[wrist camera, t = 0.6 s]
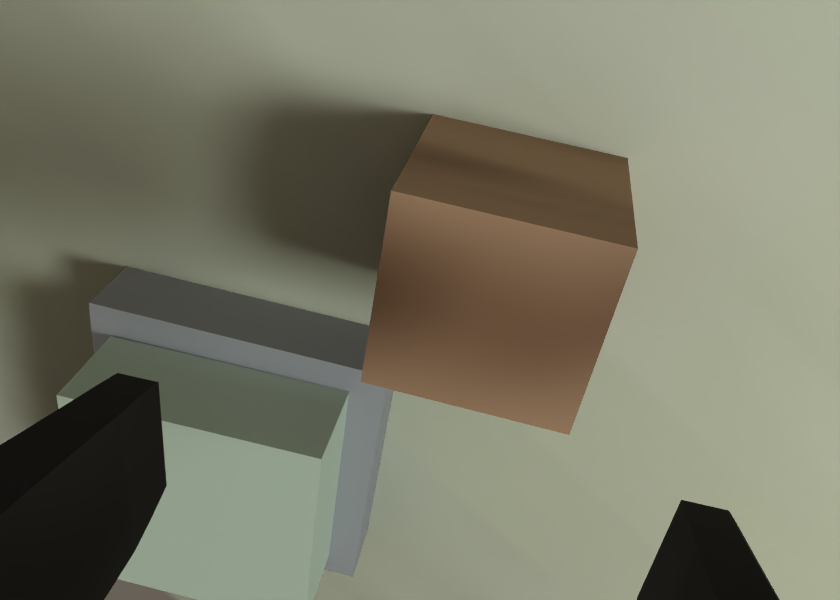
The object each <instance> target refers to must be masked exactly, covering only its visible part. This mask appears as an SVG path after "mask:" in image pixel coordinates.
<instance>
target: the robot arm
mask: <svg viewBox="0 0 840 600" xmlns="http://www.w3.org/2000/svg"><path fill="white" fill-rule="evenodd" d="M166 486H167V483H166V470H165V457H164V445H163V432H162V419H161V406H160V394H159V382H156V381H152V380H147V379H143V378H138V377H134V376H129V375H125V374H120V373H116V374H115V375H113V376H111V377H110V378H108V379H106V380H105V381H103V382H101V383H100V384H98V385H96V386H95V387H93V388H91V389H90V390H88V391H87V392H85V393H83V394H82V395H80V396H79V397H77V398H76V399H74V400H72V401H71V402H69V403H68V404H66V405H64V406H63V407H61V408H60V409H58V410H56V411H55V412H53V413H52V414H50V415H48V416H47V417H45V418H44V419H42V420H40V421H39V422H37V423H36V424H34V425H32V426H31V427H29V428H27V429H26V430H24V431H23V432H21V433H19V434H18V435H16V436H14V437H13V438H11V439H9V440H8V441H6V442H5V443H3V444H1V445H0V600H104V599H105V597H106V596H107V594H108V593H109V591H110V590H111V588H112V586H113V585H114V583H115V582H116V580H117V579H118V577H119V576H120V574H121V572H122V571H123V569H124V568H125V566H126V565H127V563H128V561H129V560H130V558H131V557H132V555H133V553H134V552H135V550H136V548H137V546H138V544H139V542H140V540H141V538H142V536H143V534H144V532H145V530H146V528H147V526H148V524H149V522H150V520H151V518H152V516H153V514H154V512H155V510H156V507H157V505H158V503H159V501H160V499H161V497H162V495H163V493H164V491H165V488H166ZM637 600H779V598H778V596H777V595H776V593H775V591H774V589H773V588H772V586H771V584H770V582H769V581H768V579H767V577H766V575H765V573H764V572H763V570H762V568H761V566H760V565H759V563H758V561H757V559H756V557H755V556H754V554H753V552H752V550H751V548H750V547H749V545H748V543H747V541H746V539H745V538H744V536H743V534H742V532H741V530H740V529H739V527H738V525H737V523H736V522H735V520H734V518H733V517H732V515H731V513H730V512H729V511H728V510H724V509H719V508H715V507H710V506H706V505H702V504H697V503H693V502H688V501H684V500H681V502H680V504H679V506H678V508H677V511H676V513H675V515H674V517H673V520H672V522H671V524H670V526H669V528H668V531H667V533H666V535H665V537H664V539H663V542H662V544H661V546H660V548H659V551H658V553H657V555H656V557H655V559H654V562H653V564H652V566H651V568H650V570H649V573H648V575H647V577H646V579H645V582H644V584H643V586H642V588H641V590H640V593H639V595H638V597H637Z"/></svg>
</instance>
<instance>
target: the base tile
mask: <svg viewBox="0 0 840 600" xmlns="http://www.w3.org/2000/svg"><path fill="white" fill-rule="evenodd" d="M89 312H90V323H91V334H92V345H93V355H94V354H95V353H96V351H97V350H98V349H99V348H100V347H101V346H102V345H103V344H104V343H105V342H106V341H107V340H108V338H109V337H110V336H113V337H118V338H122V339H126V340H130V341H135V342H139V343H143V344H147V345H152V346H156V347H160V348H164V349H169V350H173V351H177V352H181V353H186V354H190V355H194V356H198V357H203V358H207V359H211V360H215V361H220V362H224V363H228V364H232V365H237V366H241V367H245V368H249V369H254V370H258V371H262V372H266V373H271V374H275V375H279V376H283V377H288V378H292V379H296V380H300V381H305V382H309V383H313V384H317V385H322V386H326V387H330V388H334V389H339V390H343V391H347V392H349V398H348V406H347V414H346V422H345V430H344V438H343V446H342V454H341V462H340V470H339V478H338V487H337V495H336V503H335V511H334V519H333V527H332V535H331V543H330V551H329V556H328V559H327V562H326V565H325V568H324V569H326V570H330V571H334V572H338V573H341V574H345V575H349V576H353V574H354V571H355V568H356V565H357V561H358V558H359V555H360V552H361V549H362V545H363V542H364V539H365V536H366V533H367V530H368V524H369V519H370V514H371V508H372V503H373V497H374V492H375V487H376V481H377V476H378V470H379V465H380V460H381V454H382V449H383V443H384V438H385V433H386V427H387V422H388V416H389V411H390V406H391V400H392V395H393V390H391V389H387V388H383V387H379V386H375V385H371V384H368V383H364V382H361V377H362V370H363V364H364V358H365V352H366V345H367V339H368V333H369V326H368V325H364V324H360V323H356V322H351V321H347V320H343V319H339V318H335V317H331V316H327V315H323V314H319V313H315V312H311V311H306V310H302V309H298V308H294V307H290V306H286V305H282V304H278V303H274V302H270V301H266V300H261V299H257V298H253V297H249V296H245V295H241V294H237V293H233V292H229V291H225V290H221V289H216V288H212V287H208V286H204V285H200V284H196V283H192V282H188V281H184V280H180V279H176V278H171V277H167V276H163V275H159V274H155V273H151V272H147V271H143V270H139V269H135V268H130V267H125V268H124V269H123V270H122V271H121V272H120V273H119V274H118V275H117V276H116V277H115V278H114V279H113V280H112V281H111V282H110V283H109V284H107V285H106V286H105V287H104V288H103V289H102V290H101V291H100V292H99V293H98V294H97V295H96V296H95V297H94V298H93V299H92V300H91V301H90V302H89Z"/></svg>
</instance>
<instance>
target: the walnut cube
mask: <svg viewBox="0 0 840 600" xmlns="http://www.w3.org/2000/svg"><path fill="white" fill-rule="evenodd" d="M637 250H638V246H637V237H636V229H635V220H634V211H633V202H632V193H631V184H630V176H629V167H628V158H624V157H620V156H615V155H611V154H606V153H602V152H598V151H593V150H589V149H584V148H580V147H576V146H571V145H567V144H562V143H558V142H554V141H549V140H545V139H540V138H536V137H532V136H527V135H523V134H518V133H514V132H510V131H505V130H501V129H496V128H492V127H488V126H483V125H479V124H474V123H470V122H466V121H461V120H457V119H452V118H448V117H444V116H439V115H435V114H433V115H432V117H431V119H430V120H429V122H428V124H427V126H426V128H425V130H424V131H423V133H422V135H421V137H420V139H419V141H418V142H417V144H416V146H415V148H414V150H413V152H412V153H411V155H410V157H409V159H408V161H407V162H406V164H405V166H404V168H403V170H402V172H401V173H400V175H399V177H398V179H397V181H396V183H395V184H394V186H393V188H392V190H391V194H390V201H389V207H388V213H387V219H386V226H385V232H384V238H383V245H382V251H381V257H380V264H379V270H378V276H377V282H376V289H375V295H374V301H373V308H372V314H371V320H370V326H369V333H368V339H367V345H366V352H365V358H364V364H363V370H362V377H361V382H364V383H368V384H371V385H375V386H379V387H383V388H387V389H391V390H395V391H399V392H403V393H407V394H411V395H415V396H419V397H423V398H427V399H431V400H434V401H438V402H442V403H446V404H450V405H454V406H458V407H462V408H466V409H470V410H474V411H478V412H482V413H486V414H490V415H494V416H497V417H501V418H505V419H509V420H513V421H517V422H521V423H525V424H529V425H533V426H537V427H541V428H545V429H549V430H553V431H556V432H560V433H564V434H568V435H569V434H570V431H571V428H572V426H573V423H574V420H575V417H576V415H577V412H578V409H579V407H580V404H581V401H582V398H583V396H584V393H585V390H586V388H587V385H588V382H589V380H590V377H591V374H592V371H593V369H594V366H595V363H596V361H597V358H598V355H599V352H600V350H601V347H602V344H603V342H604V339H605V336H606V333H607V331H608V328H609V325H610V323H611V320H612V317H613V315H614V312H615V309H616V306H617V304H618V301H619V298H620V296H621V293H622V290H623V287H624V285H625V282H626V279H627V277H628V274H629V271H630V268H631V266H632V263H633V260H634V258H635V255H636V252H637Z"/></svg>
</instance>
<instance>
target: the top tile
mask: <svg viewBox="0 0 840 600" xmlns="http://www.w3.org/2000/svg"><path fill="white" fill-rule="evenodd" d="M116 373H120V374H125V375H129V376H134V377H138V378H143V379H147V380H152V381H156V382H159V394H160V406H161V419H162V432H163V445H164V457H165V470H166V483H167V486H166V488H165V491H164V493H163V495H162V497H161V499H160V501H159V503H158V505H157V507H156V510H155V512H154V514H153V516H152V518H151V520H150V522H149V524H148V526H147V528H146V530H145V532H144V534H143V536H142V538H141V540H140V542H139V544H138V546H137V548H136V550H135V552H134V553H133V555H132V557H131V558H130V560H129V561H128V563H127V565H126V566H125V568H124V569H123V571H122V572H121V574H120V576H119V577H118V579H120V580H124V581H128V582H132V583H136V584H139V585H143V586H147V587H151V588H155V589H159V590H162V591H166V592H170V593H174V594H178V595H182V596H186V597H189V598H193V599H197V600H313V599H314V596H315V594H316V591H317V588H318V585H319V582H320V579H321V576H322V574H323V571H324V568H325V565H326V562H327V559H328V556H329V551H330V543H331V535H332V527H333V519H334V511H335V503H336V495H337V487H338V478H339V470H340V462H341V454H342V446H343V438H344V430H345V422H346V414H347V406H348V398H349V392H347V391H343V390H339V389H334V388H330V387H326V386H322V385H317V384H313V383H309V382H305V381H300V380H296V379H292V378H288V377H283V376H279V375H275V374H271V373H266V372H262V371H258V370H254V369H249V368H245V367H241V366H237V365H232V364H228V363H224V362H220V361H215V360H211V359H207V358H203V357H198V356H194V355H190V354H186V353H181V352H177V351H173V350H169V349H164V348H160V347H156V346H152V345H147V344H143V343H139V342H135V341H130V340H126V339H122V338H118V337H113V336H110V337H109V338H108V340H107V341H106V342H105V343H104V344H103V345H102V346H101V347H100V348H99V349H98V350H97V351H96V353H95V354H94V355H93V356H92V357H91V358H90V359H89V360H88V361H87V362H86V363H85V364H84V366H83V367H82V368H81V369H80V370H79V371H78V372H77V373H76V374H75V375H74V376H73V377H72V379H71V380H70V381H69V382H68V383H67V384H66V385H65V386H64V387H63V388H62V389H61V391H60V392H59V393H58V394H57V395H56V396H57V403H58V409H60V408H61V407H63V406H64V405H66V404H68V403H69V402H71V401H72V400H74V399H76V398H77V397H79V396H80V395H82V394H83V393H85V392H87V391H88V390H90V389H91V388H93V387H95V386H96V385H98V384H100V383H101V382H103V381H105V380H106V379H108V378H110V377H111V376H113V375H115V374H116Z"/></svg>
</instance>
